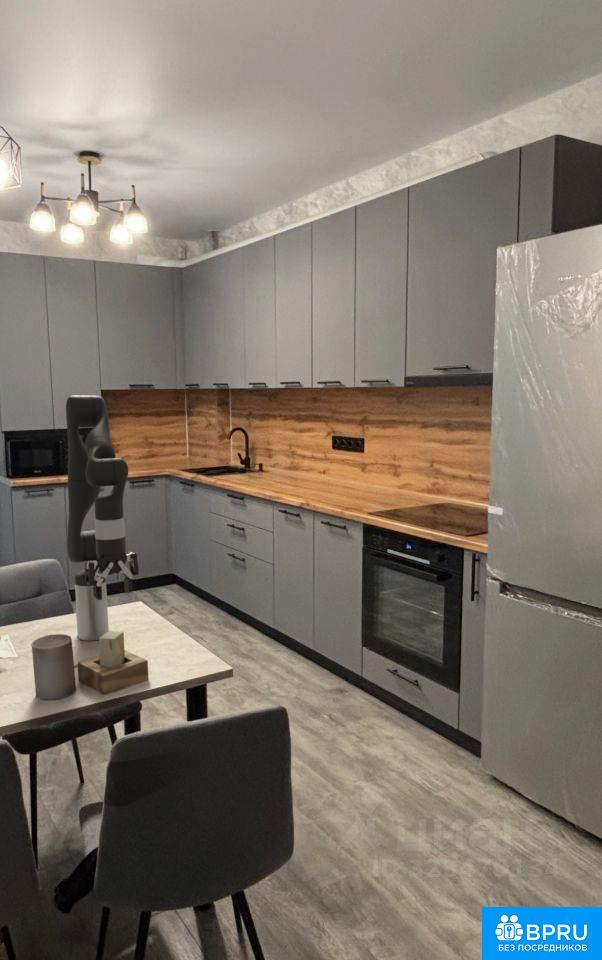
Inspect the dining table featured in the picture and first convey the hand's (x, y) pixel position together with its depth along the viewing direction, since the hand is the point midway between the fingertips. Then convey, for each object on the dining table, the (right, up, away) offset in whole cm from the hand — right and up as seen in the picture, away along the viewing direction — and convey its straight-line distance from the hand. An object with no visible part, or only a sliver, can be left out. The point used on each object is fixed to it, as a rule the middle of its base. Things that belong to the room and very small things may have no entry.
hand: (113, 595), depth 186 cm
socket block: (0, -22, +1) cm, 22 cm away
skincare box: (0, -22, +1) cm, 22 cm away
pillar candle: (-13, -24, -6) cm, 28 cm away
